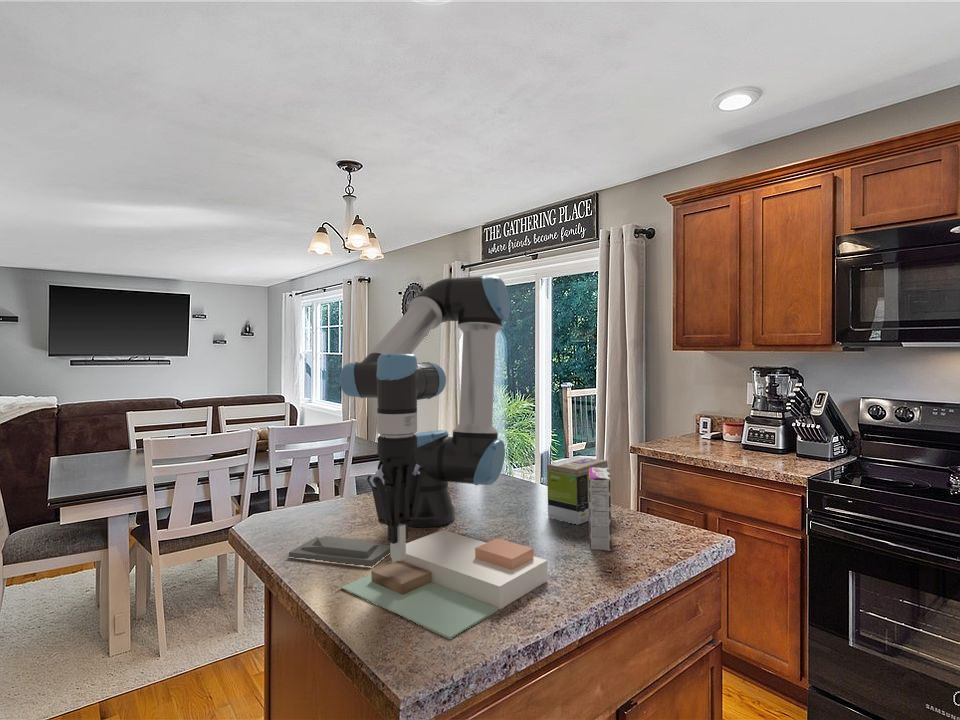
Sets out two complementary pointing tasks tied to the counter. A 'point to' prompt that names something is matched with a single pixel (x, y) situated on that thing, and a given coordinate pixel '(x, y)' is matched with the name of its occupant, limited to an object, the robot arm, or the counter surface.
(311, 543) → the soap mold
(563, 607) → the counter surface
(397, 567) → the walnut tile
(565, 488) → the tea box
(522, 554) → the terracotta tile
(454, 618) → the mat
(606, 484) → the candy bar box
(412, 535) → the counter surface
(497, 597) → the white flat block
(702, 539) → the counter surface
